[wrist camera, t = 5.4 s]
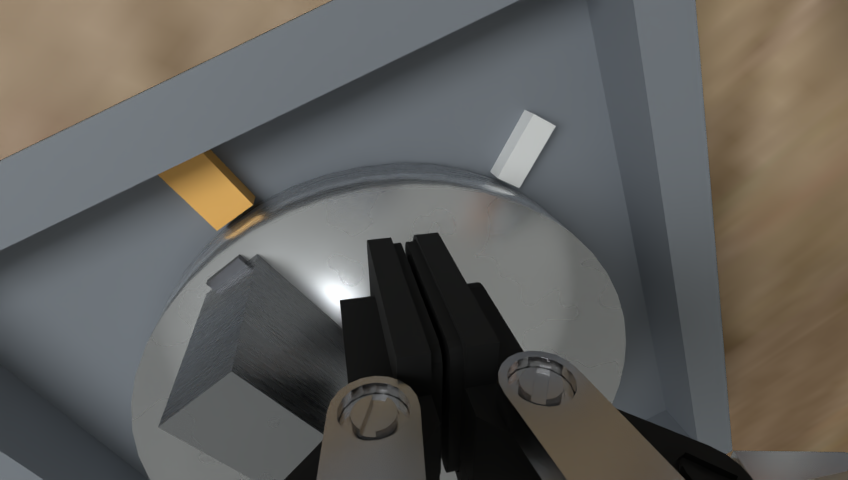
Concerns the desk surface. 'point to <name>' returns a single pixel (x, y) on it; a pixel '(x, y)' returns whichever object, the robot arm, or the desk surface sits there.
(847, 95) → the desk surface
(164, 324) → the dial
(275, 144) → the square tray
